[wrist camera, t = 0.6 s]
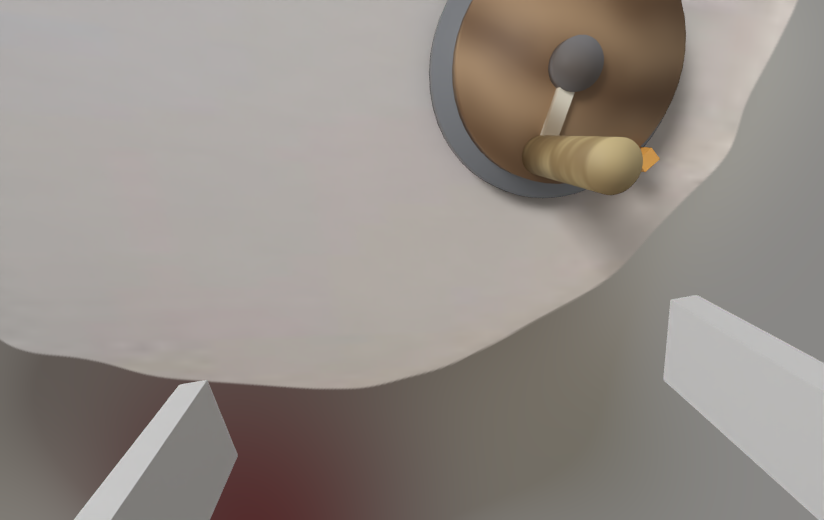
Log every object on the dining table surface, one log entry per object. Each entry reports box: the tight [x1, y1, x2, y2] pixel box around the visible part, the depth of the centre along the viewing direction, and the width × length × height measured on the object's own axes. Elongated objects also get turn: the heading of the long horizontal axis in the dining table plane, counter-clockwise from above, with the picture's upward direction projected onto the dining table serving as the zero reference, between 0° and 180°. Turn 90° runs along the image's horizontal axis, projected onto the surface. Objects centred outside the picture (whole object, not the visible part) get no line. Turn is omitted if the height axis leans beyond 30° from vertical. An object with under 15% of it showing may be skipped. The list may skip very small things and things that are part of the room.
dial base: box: [429, 0, 664, 198], centre depth 29 cm, size 20×20×5 cm
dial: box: [452, 0, 686, 195], centre depth 24 cm, size 17×17×12 cm
